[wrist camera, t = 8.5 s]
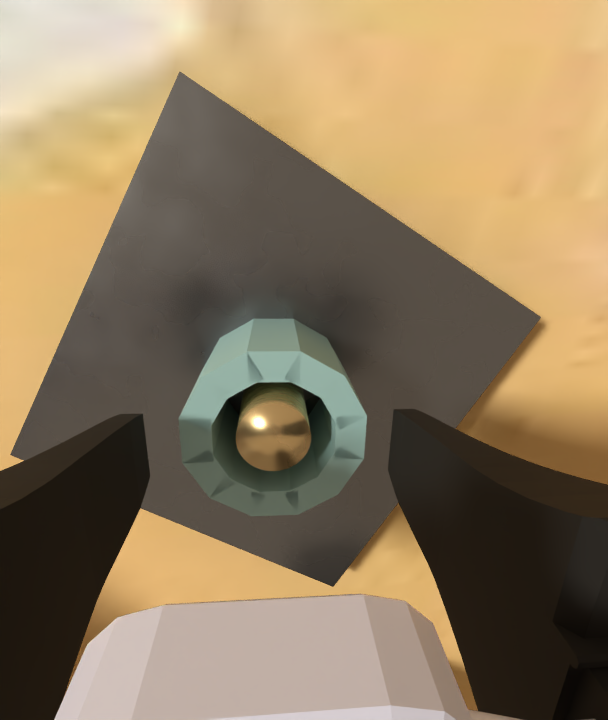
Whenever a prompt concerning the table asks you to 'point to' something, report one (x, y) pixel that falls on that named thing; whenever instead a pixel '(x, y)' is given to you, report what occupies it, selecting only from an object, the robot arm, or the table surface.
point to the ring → (220, 420)
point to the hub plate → (266, 301)
